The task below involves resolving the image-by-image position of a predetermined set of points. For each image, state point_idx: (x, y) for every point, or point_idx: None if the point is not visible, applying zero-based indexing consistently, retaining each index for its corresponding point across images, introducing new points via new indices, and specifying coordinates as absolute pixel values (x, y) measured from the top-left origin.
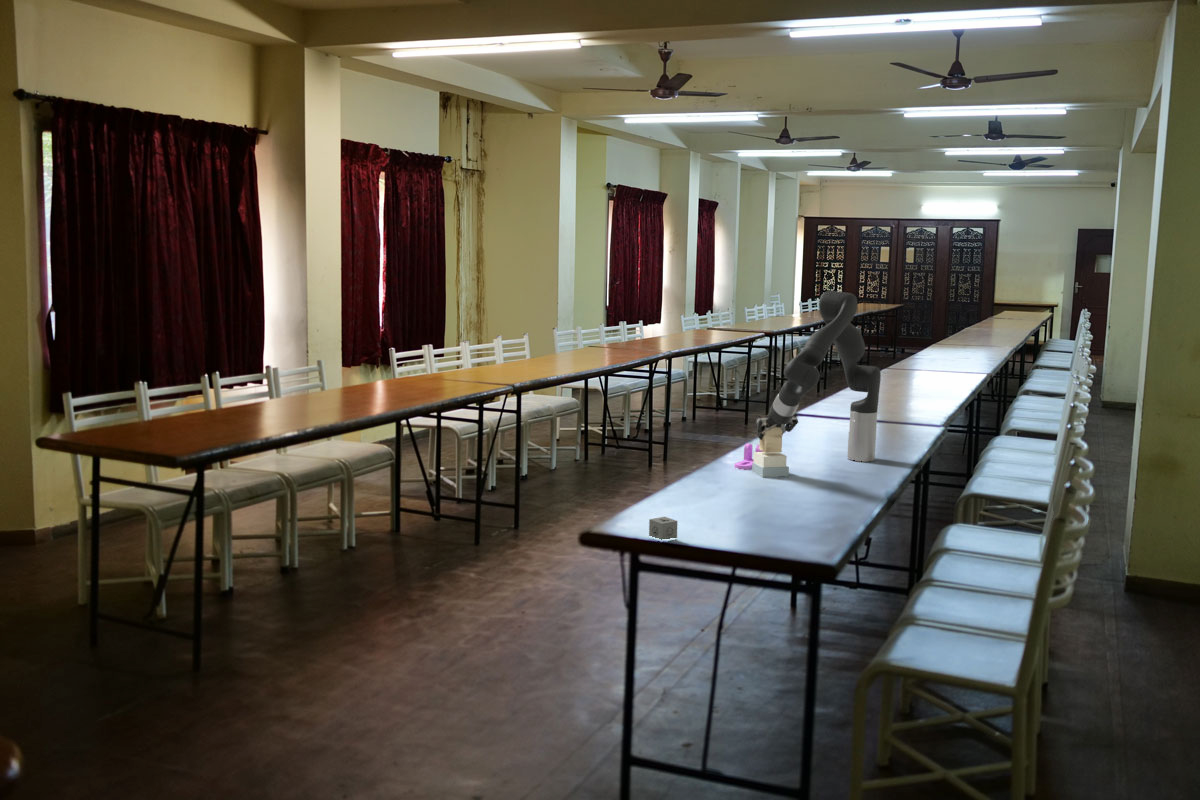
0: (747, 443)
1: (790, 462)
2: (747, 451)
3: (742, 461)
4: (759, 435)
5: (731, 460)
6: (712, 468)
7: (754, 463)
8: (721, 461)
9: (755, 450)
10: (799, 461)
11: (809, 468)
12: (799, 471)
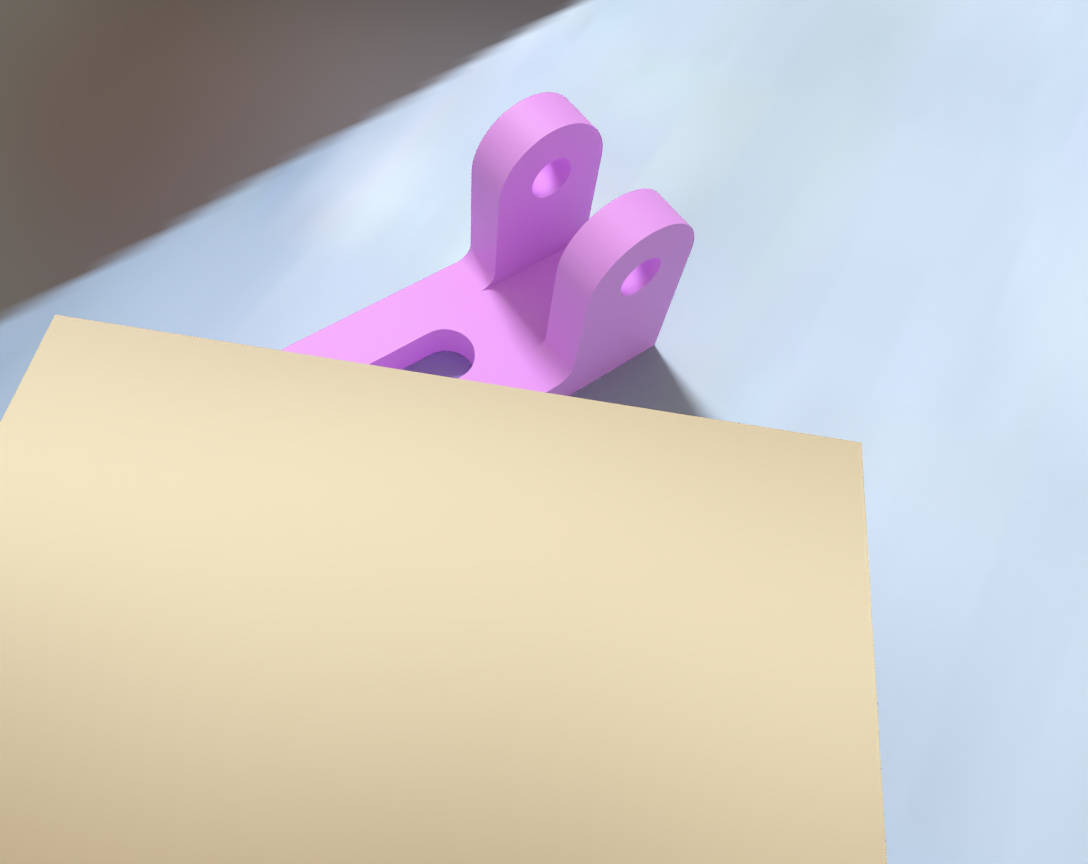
0: (535, 103)
1: (957, 369)
2: (495, 214)
3: (420, 299)
4: None
5: (442, 144)
6: (9, 357)
7: None
8: (327, 147)
9: (558, 267)
10: (1061, 360)
11: (1073, 692)
12: (896, 817)
